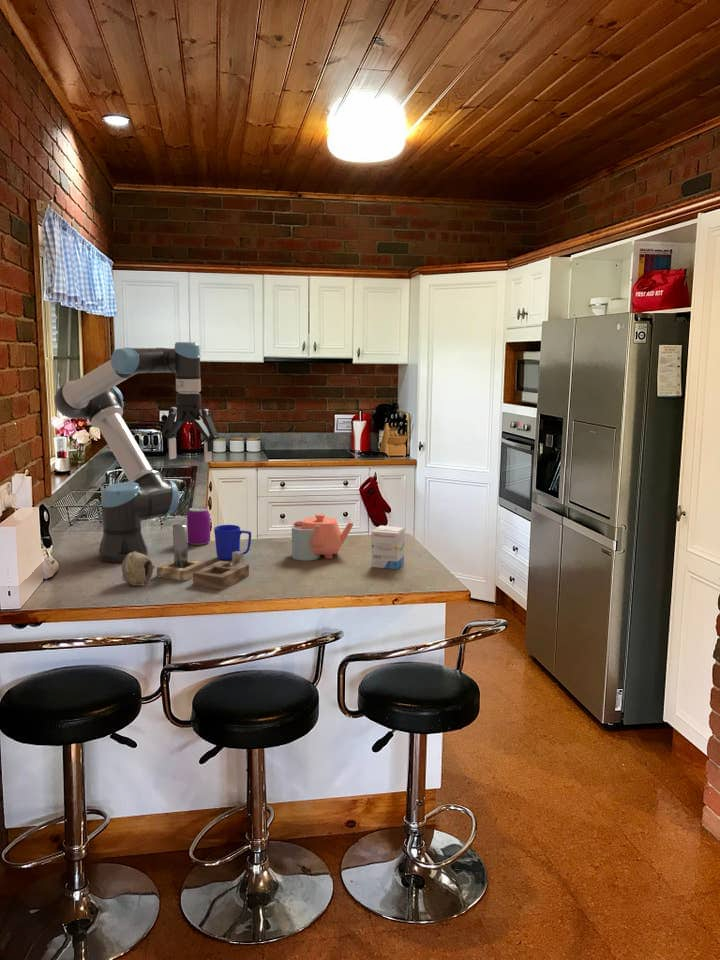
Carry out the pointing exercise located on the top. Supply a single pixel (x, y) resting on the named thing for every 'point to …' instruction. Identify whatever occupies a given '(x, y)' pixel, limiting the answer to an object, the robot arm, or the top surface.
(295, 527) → the mug
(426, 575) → the top surface
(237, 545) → the mug
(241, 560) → the drift key
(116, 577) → the top surface
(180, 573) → the frame
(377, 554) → the ink box
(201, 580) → the socket block
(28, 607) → the top surface
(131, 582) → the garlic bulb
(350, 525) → the teapot
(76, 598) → the top surface
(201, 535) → the beverage can
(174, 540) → the peg
